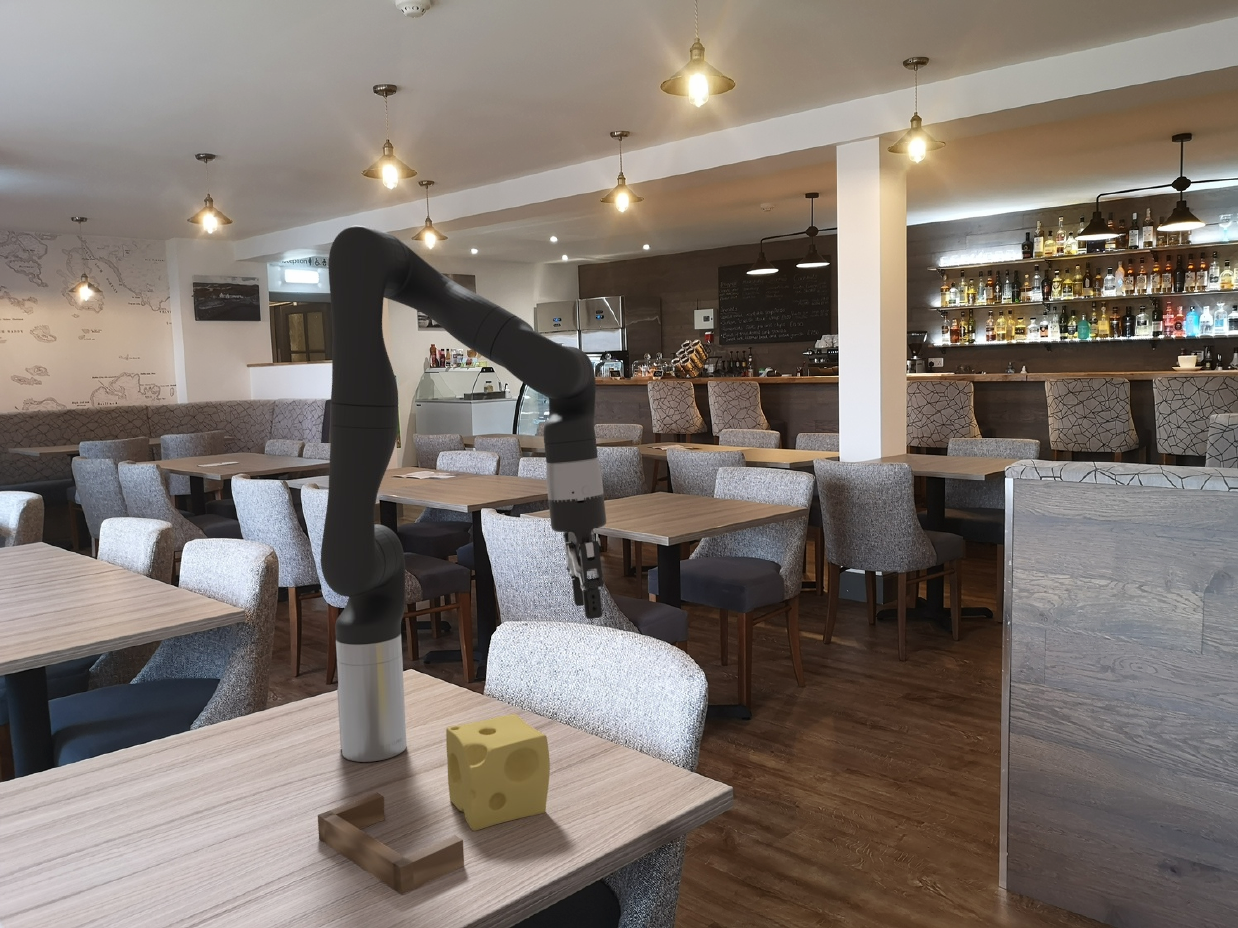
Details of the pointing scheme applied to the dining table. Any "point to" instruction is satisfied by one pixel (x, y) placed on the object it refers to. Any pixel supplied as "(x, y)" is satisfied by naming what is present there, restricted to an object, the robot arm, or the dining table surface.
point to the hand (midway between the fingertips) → (588, 611)
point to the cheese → (497, 770)
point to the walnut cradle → (385, 847)
